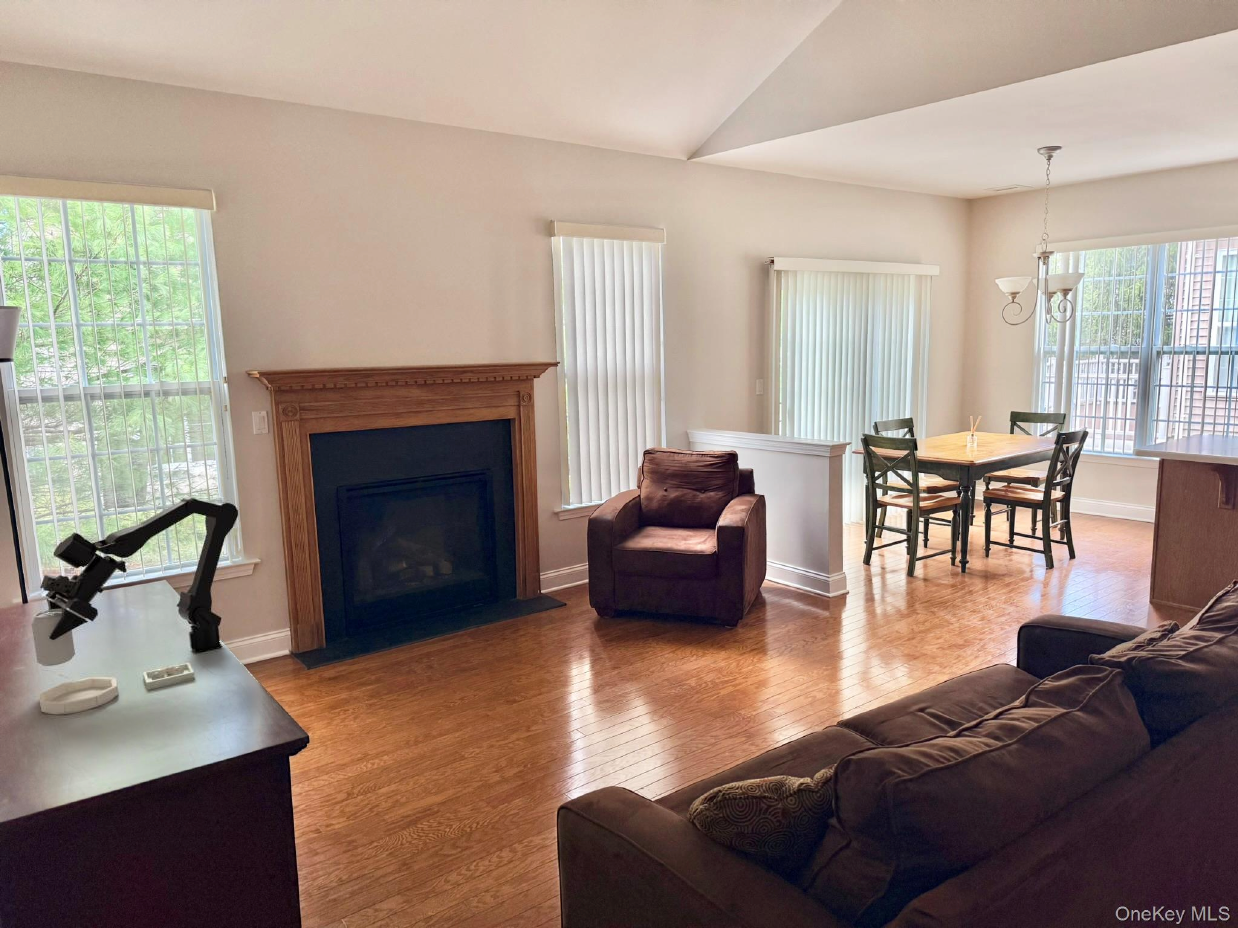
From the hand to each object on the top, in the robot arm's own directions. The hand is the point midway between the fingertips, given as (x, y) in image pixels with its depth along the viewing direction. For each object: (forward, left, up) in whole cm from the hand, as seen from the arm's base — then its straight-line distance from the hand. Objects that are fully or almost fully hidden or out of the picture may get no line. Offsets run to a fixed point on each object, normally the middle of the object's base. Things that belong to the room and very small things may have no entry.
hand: (46, 635), depth 195 cm
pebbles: (-23, +11, -13) cm, 29 cm away
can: (-1, 0, -7) cm, 7 cm away
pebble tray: (-23, +11, -13) cm, 29 cm away
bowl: (-5, +12, -13) cm, 18 cm away
